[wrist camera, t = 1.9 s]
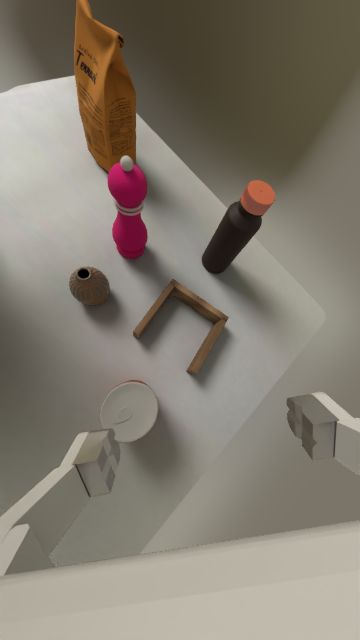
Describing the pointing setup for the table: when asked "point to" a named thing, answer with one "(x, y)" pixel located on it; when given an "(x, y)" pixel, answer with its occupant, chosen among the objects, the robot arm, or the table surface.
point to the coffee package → (103, 90)
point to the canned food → (129, 411)
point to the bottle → (238, 226)
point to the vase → (89, 286)
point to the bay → (196, 304)
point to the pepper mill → (128, 207)
